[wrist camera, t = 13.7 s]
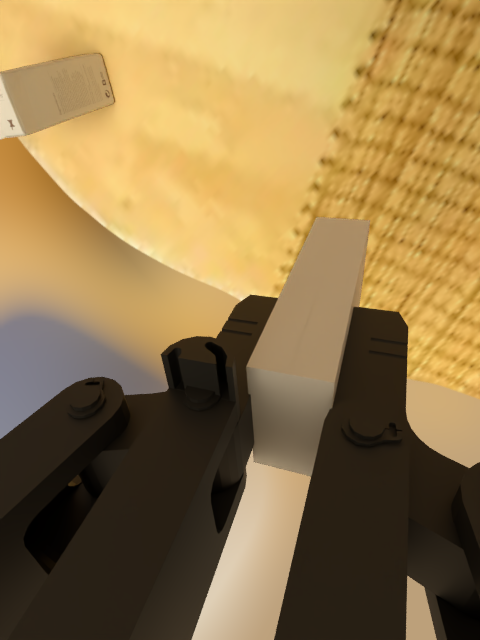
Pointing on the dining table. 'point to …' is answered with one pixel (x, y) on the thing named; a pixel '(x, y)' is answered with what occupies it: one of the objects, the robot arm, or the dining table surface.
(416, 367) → the dining table surface
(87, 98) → the skincare box
